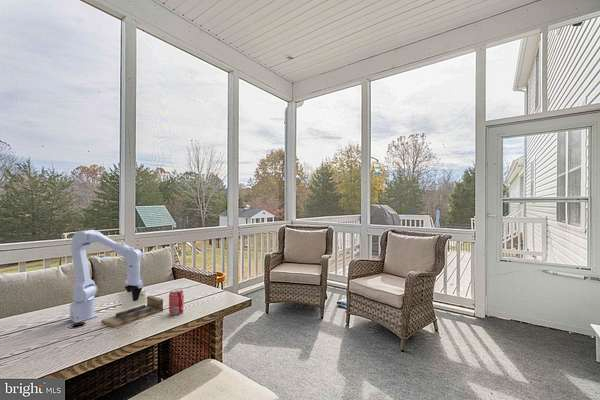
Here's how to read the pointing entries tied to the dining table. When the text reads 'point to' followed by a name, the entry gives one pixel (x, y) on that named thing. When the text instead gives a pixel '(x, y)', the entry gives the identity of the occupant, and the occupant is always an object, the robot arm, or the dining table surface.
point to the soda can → (176, 301)
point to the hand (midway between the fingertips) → (133, 299)
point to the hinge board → (136, 312)
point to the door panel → (128, 299)
